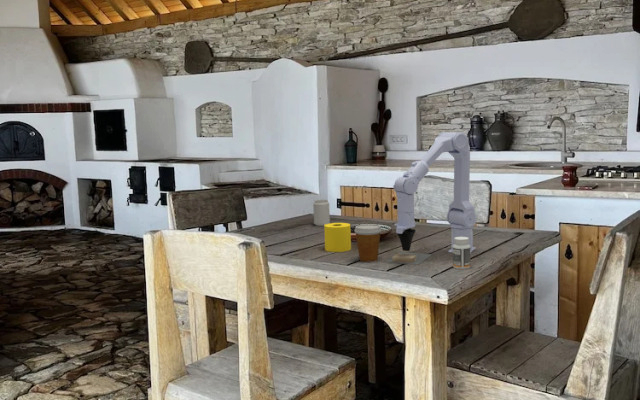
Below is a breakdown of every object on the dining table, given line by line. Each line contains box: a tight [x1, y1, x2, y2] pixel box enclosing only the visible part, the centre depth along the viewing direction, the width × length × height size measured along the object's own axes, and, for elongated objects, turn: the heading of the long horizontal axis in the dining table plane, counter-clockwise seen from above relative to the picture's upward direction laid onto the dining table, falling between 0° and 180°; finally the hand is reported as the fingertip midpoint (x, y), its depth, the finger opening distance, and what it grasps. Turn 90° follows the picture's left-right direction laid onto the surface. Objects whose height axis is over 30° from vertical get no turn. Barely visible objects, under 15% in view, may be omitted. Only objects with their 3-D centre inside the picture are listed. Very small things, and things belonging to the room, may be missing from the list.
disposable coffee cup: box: [354, 223, 382, 263], centre depth 216 cm, size 10×10×12 cm
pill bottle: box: [452, 237, 472, 270], centre depth 201 cm, size 6×6×10 cm
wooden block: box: [391, 253, 416, 263], centre depth 212 cm, size 2×7×5 cm
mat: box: [385, 251, 433, 266], centre depth 216 cm, size 16×12×1 cm
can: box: [312, 199, 331, 227], centre depth 290 cm, size 8×8×12 cm
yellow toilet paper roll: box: [323, 222, 352, 253], centre depth 236 cm, size 10×10×9 cm
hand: (406, 250), depth 213 cm, fingers closed
